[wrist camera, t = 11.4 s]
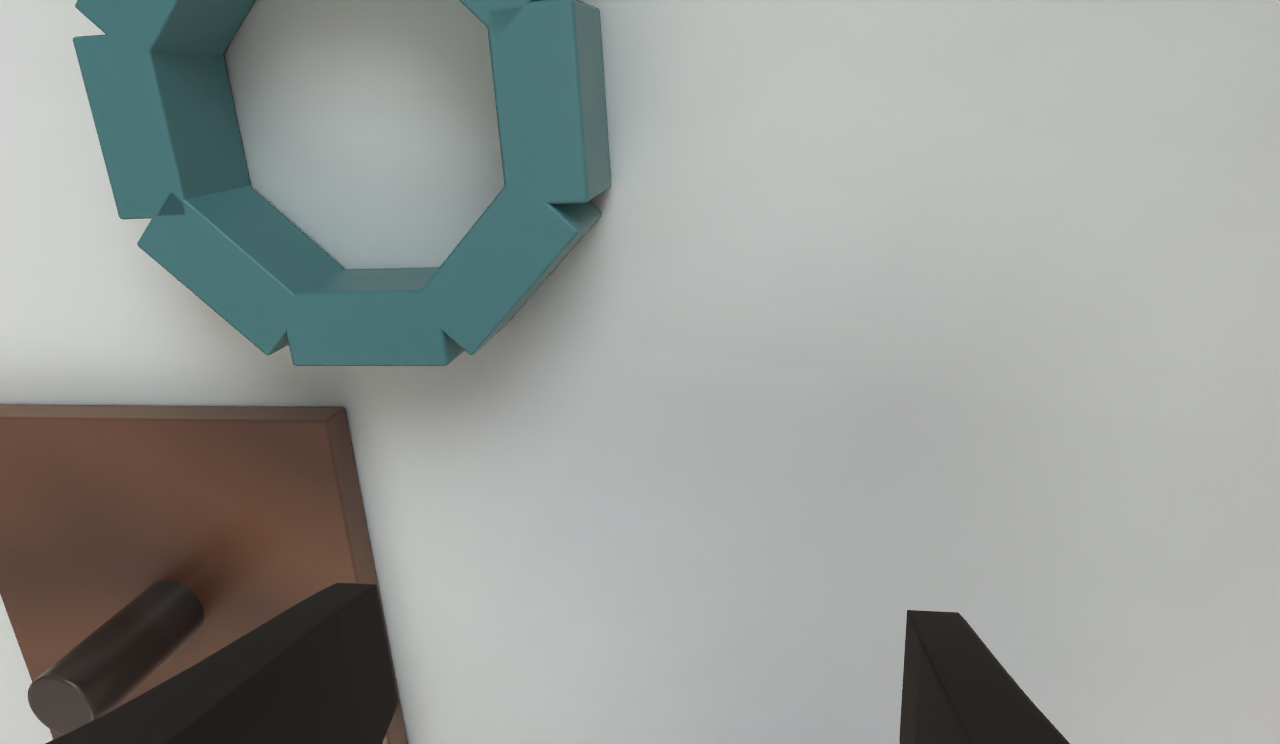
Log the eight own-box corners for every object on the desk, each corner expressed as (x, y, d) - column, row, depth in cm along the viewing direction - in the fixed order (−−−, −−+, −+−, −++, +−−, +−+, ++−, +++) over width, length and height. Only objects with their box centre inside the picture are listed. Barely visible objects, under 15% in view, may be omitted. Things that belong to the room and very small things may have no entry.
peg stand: (411, 758, 25) (327, 912, 21) (81, 729, 27) (-63, 864, 23) (345, 406, 21) (224, 497, 17) (-33, 403, 23) (-235, 484, 19)
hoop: (621, 333, 20) (600, 366, 17) (223, 336, 21) (157, 367, 19) (587, -183, 16) (556, -224, 14) (115, -128, 18) (19, -157, 16)
